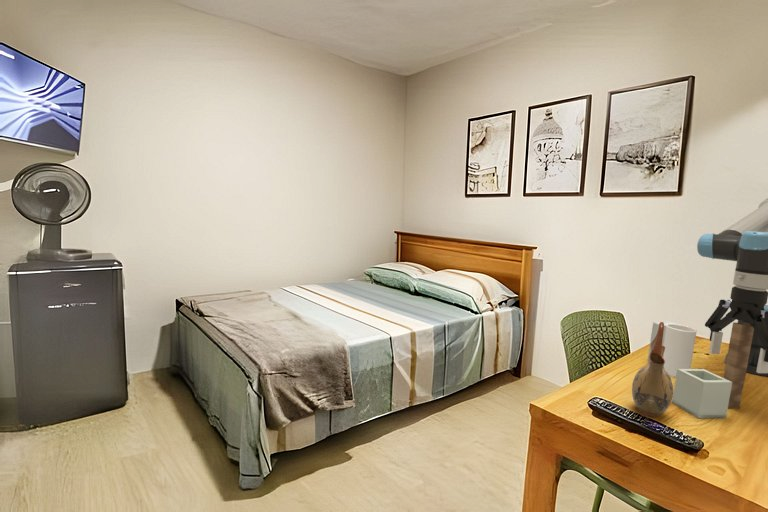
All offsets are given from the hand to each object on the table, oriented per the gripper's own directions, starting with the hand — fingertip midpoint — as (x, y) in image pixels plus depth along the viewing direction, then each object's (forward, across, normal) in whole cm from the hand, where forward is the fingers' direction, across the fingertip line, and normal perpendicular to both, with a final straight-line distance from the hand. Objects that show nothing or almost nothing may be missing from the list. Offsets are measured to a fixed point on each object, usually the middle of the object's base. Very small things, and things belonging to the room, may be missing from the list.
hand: (736, 362), depth 114 cm
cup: (+13, -22, +3) cm, 26 cm away
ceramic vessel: (+13, +3, -28) cm, 31 cm away
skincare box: (+13, -30, +6) cm, 33 cm away
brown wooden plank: (+13, 0, 0) cm, 13 cm away
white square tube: (+13, +2, -12) cm, 18 cm away
